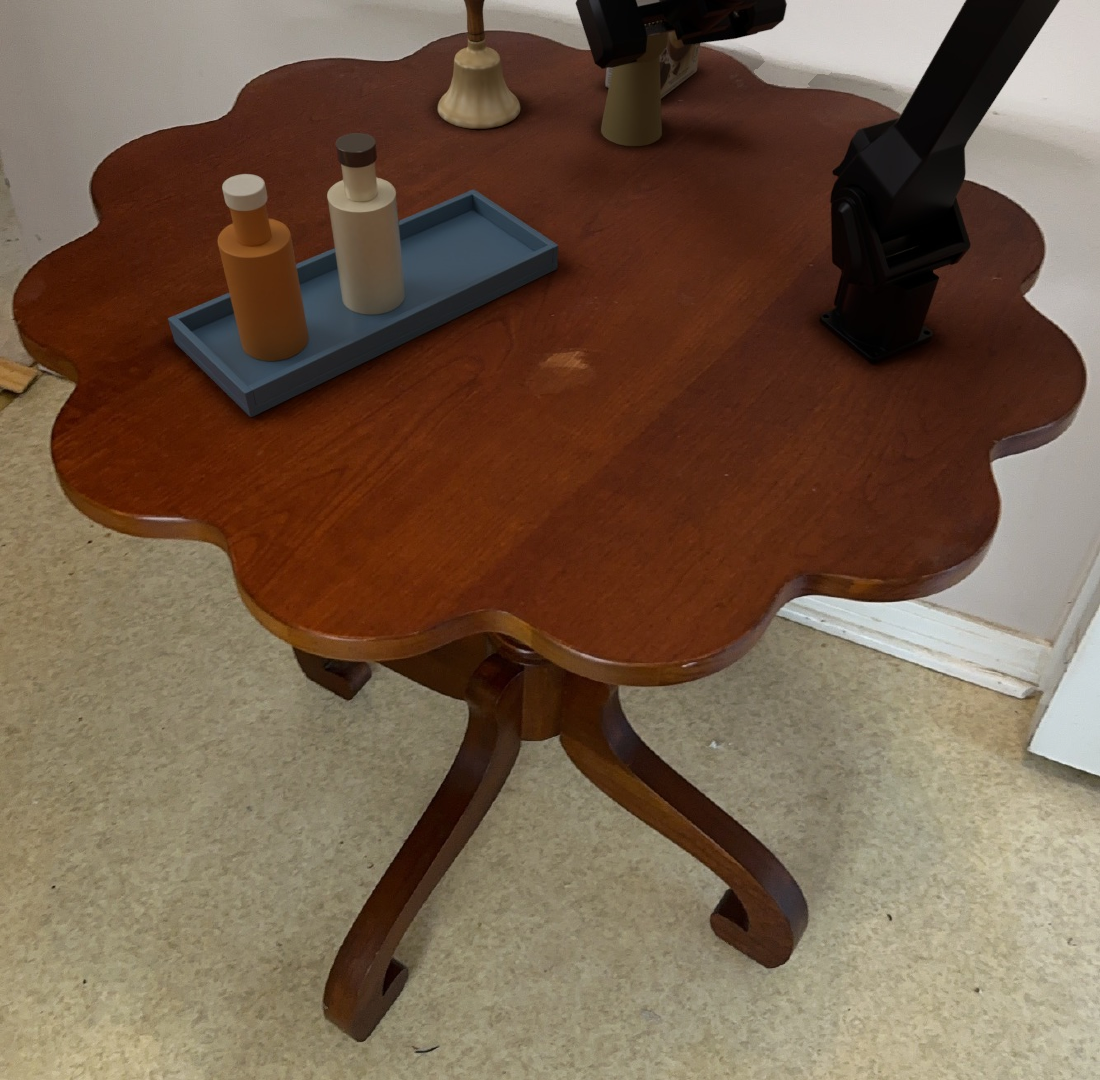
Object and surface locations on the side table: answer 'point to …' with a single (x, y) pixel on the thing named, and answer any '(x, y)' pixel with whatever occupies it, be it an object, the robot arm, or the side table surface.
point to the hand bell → (478, 82)
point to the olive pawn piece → (636, 99)
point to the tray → (352, 338)
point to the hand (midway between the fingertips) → (641, 49)
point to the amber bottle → (261, 274)
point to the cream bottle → (365, 230)
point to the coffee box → (671, 60)
